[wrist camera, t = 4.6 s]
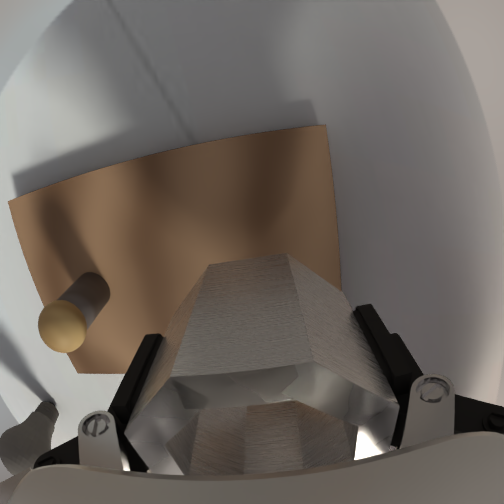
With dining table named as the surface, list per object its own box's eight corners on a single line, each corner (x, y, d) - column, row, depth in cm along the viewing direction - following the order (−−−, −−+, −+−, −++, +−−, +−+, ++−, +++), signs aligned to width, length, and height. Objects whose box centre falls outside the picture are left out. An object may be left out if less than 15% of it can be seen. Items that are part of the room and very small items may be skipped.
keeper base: (319, 125, 16) (364, 121, 9) (337, 336, 21) (365, 412, 14) (20, 196, 17) (-51, 227, 11) (84, 361, 22) (49, 423, 16)
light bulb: (22, 385, 24) (-20, 451, 15) (54, 384, 24) (10, 461, 14) (50, 421, 26) (18, 486, 17) (84, 422, 26) (52, 497, 16)
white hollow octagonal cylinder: (340, 244, 11) (410, 341, 5) (344, 382, 13) (376, 489, 8) (158, 272, 12) (89, 377, 6) (201, 400, 14) (182, 508, 8)
